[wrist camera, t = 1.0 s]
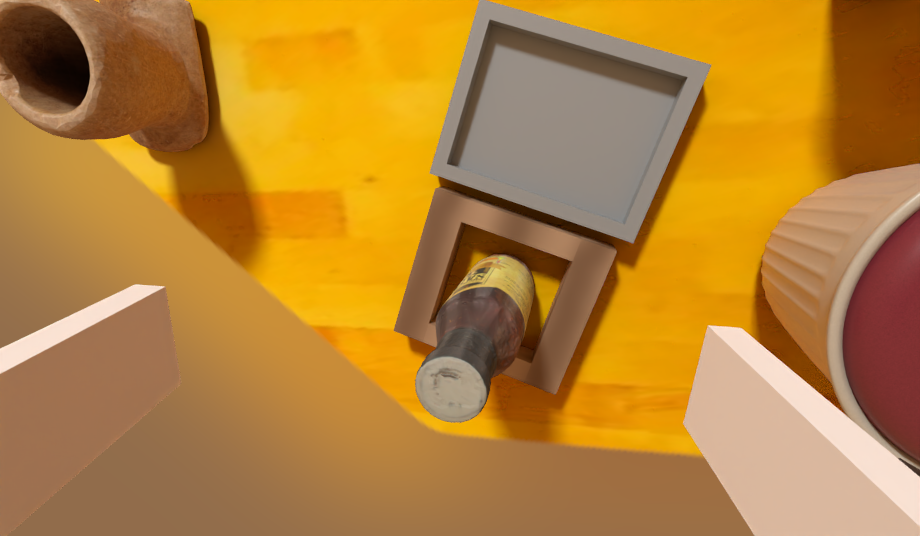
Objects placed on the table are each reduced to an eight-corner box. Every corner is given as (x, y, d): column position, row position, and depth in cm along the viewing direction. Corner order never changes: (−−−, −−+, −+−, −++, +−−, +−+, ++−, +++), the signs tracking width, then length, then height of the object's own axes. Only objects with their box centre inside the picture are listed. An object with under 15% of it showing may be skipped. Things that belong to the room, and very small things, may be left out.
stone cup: (239, 152, 46) (93, 149, 31) (141, 151, 48) (-37, 147, 34) (223, -17, 42) (49, -107, 28) (117, -9, 45) (-92, -88, 30)
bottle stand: (613, 245, 40) (617, 251, 37) (556, 379, 44) (555, 394, 41) (444, 186, 42) (435, 188, 39) (404, 320, 46) (393, 330, 43)
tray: (701, 71, 35) (711, 64, 33) (629, 238, 39) (633, 243, 37) (485, 8, 38) (479, -2, 35) (437, 172, 42) (429, 173, 39)
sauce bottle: (492, 238, 42) (434, 301, 23) (549, 275, 42) (538, 371, 23) (456, 294, 44) (376, 394, 25) (510, 330, 44) (470, 459, 25)
